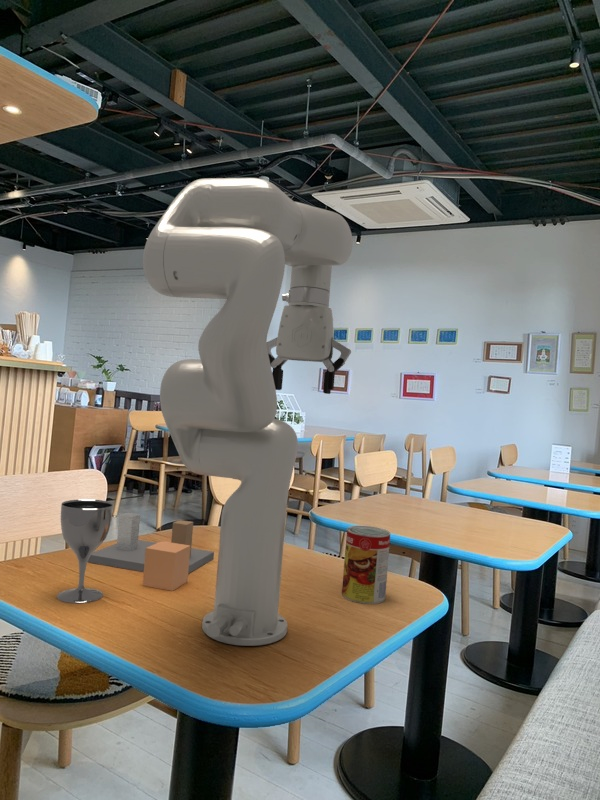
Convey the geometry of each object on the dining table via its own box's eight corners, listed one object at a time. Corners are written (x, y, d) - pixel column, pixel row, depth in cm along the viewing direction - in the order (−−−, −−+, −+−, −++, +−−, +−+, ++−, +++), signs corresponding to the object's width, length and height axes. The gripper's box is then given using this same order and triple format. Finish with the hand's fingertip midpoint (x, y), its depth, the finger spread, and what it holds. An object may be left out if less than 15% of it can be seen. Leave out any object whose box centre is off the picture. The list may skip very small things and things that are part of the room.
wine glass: (45, 602, 92) (53, 506, 92) (64, 586, 99) (71, 497, 99) (97, 605, 92) (104, 510, 92) (111, 589, 100) (118, 501, 100)
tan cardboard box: (172, 590, 101) (175, 552, 101) (142, 585, 103) (145, 548, 103) (187, 581, 107) (190, 545, 107) (158, 576, 108) (161, 541, 108)
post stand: (180, 578, 108) (184, 532, 108) (87, 562, 114) (90, 518, 114) (213, 558, 123) (216, 518, 123) (129, 545, 128) (132, 506, 128)
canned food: (349, 586, 112) (354, 523, 112) (389, 594, 109) (394, 530, 109) (335, 598, 104) (341, 530, 104) (378, 607, 101) (384, 538, 101)
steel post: (129, 551, 118) (132, 516, 118) (116, 549, 119) (119, 514, 119) (137, 548, 121) (140, 514, 121) (124, 546, 122) (127, 512, 122)
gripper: (259, 295, 109) (251, 387, 109) (350, 298, 104) (342, 394, 104) (271, 303, 116) (265, 389, 116) (358, 305, 111) (350, 395, 111)
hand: (301, 391), depth 110 cm, fingers open, 9 cm apart
